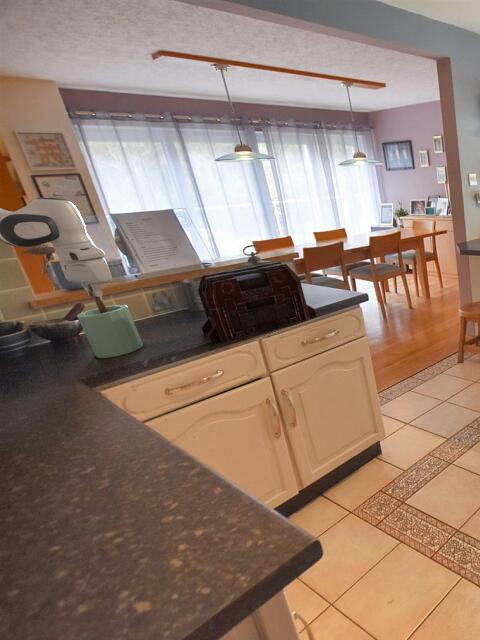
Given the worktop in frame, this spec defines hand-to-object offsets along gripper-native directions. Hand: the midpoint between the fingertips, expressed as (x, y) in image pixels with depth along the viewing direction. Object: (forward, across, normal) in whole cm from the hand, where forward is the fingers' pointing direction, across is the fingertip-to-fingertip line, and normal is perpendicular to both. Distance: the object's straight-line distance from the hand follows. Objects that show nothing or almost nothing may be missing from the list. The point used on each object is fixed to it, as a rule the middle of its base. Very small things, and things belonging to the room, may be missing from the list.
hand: (96, 296), depth 138 cm
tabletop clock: (+19, +2, +54) cm, 57 cm away
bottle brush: (+14, 0, 0) cm, 14 cm away
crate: (+19, +28, +32) cm, 47 cm away
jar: (+19, 0, 0) cm, 19 cm away
